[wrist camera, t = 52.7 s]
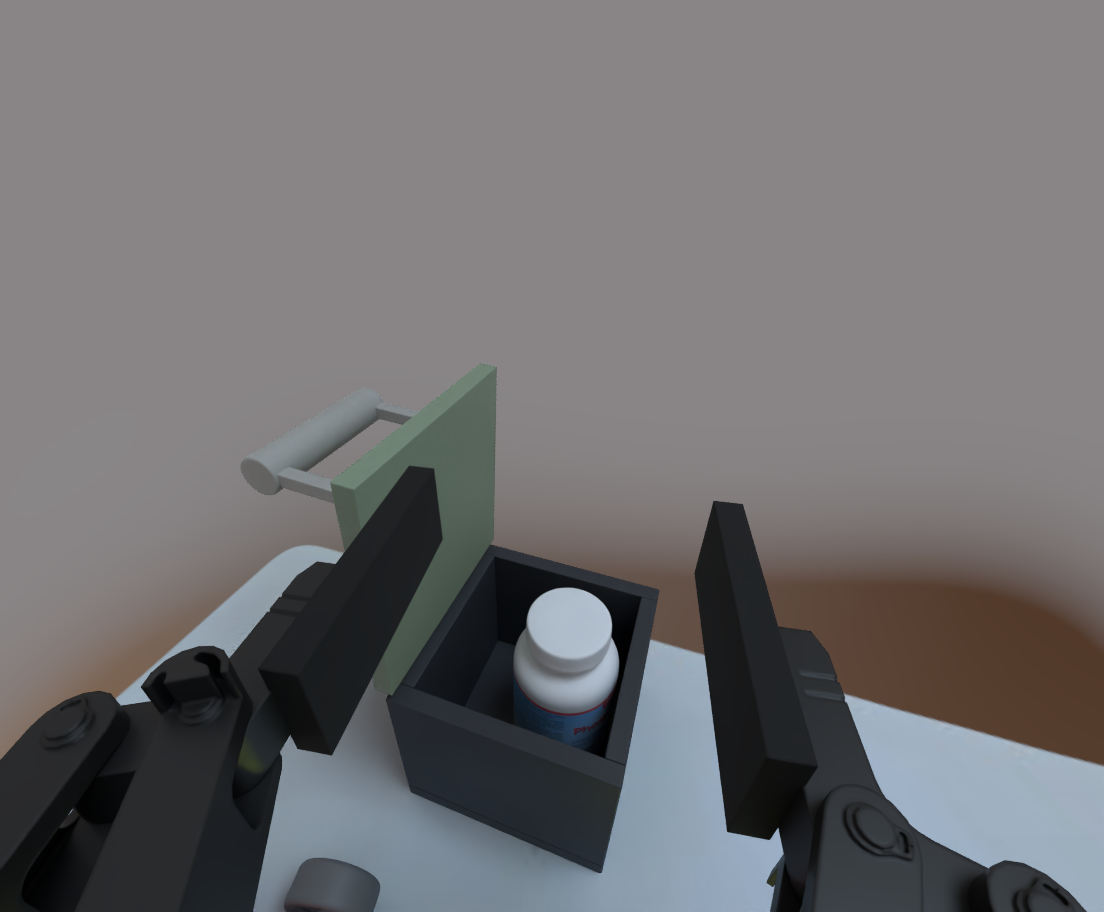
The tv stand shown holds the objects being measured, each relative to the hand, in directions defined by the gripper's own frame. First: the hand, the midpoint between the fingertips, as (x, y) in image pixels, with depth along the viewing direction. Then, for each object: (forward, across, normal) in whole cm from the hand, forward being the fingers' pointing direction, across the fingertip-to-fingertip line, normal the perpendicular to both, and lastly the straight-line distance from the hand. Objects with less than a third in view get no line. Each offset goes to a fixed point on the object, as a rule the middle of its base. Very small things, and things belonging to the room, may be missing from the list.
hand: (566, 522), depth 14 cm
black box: (+7, -2, -24) cm, 25 cm away
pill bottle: (+6, 0, -23) cm, 24 cm away
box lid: (+7, -7, -7) cm, 12 cm away
